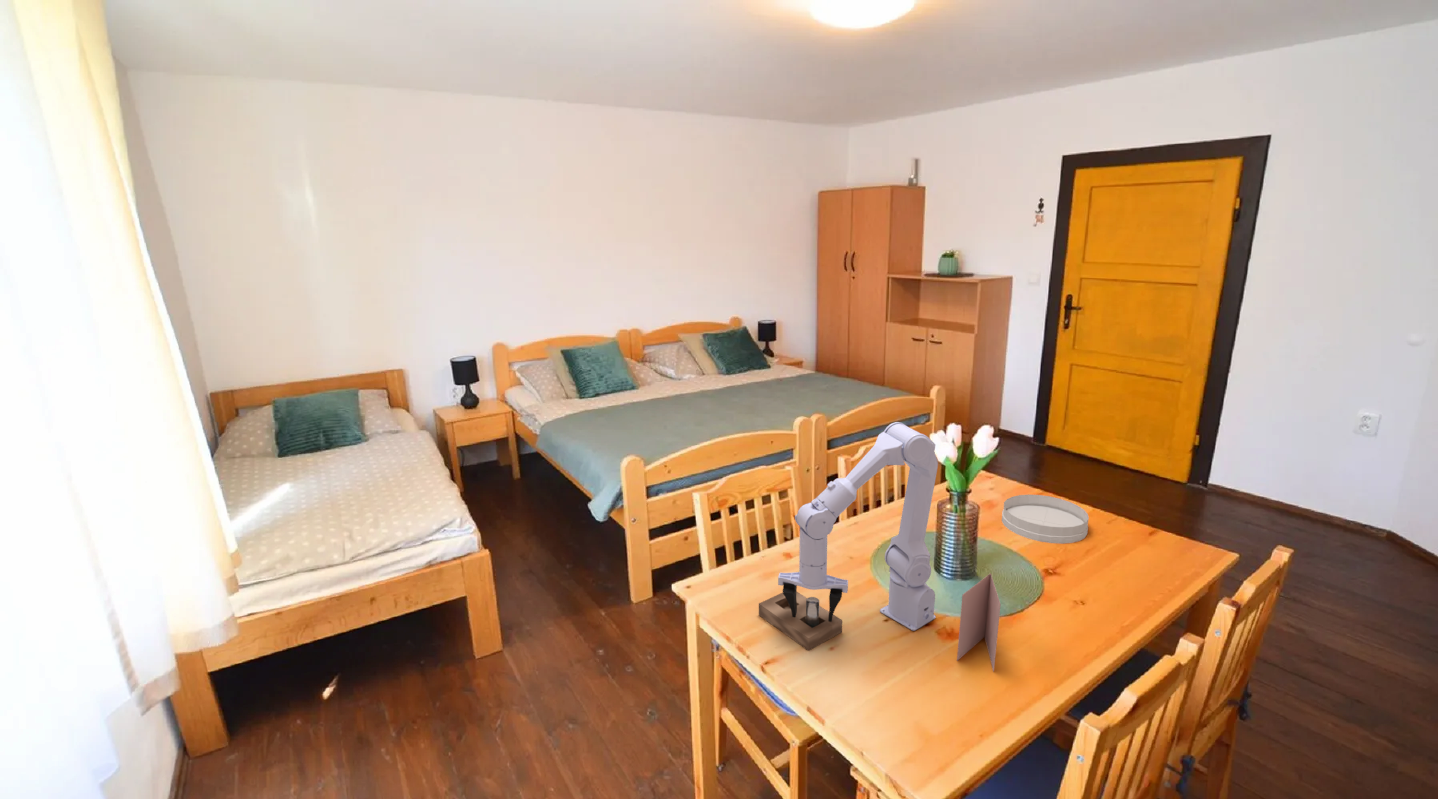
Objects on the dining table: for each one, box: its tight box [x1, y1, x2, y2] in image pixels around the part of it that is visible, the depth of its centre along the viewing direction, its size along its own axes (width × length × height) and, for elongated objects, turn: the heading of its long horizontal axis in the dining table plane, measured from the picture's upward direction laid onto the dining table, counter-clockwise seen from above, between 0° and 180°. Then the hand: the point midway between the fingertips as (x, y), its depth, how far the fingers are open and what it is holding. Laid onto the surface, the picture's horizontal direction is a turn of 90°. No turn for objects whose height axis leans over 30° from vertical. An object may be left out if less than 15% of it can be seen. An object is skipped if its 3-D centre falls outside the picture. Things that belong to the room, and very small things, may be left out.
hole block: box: [758, 591, 843, 651], centre depth 141 cm, size 16×10×3 cm, turn 36°
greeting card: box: [956, 573, 1001, 673], centre depth 128 cm, size 11×7×15 cm, turn 131°
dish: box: [1001, 494, 1089, 544], centre depth 183 cm, size 22×22×5 cm
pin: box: [806, 596, 820, 628], centre depth 138 cm, size 3×3×7 cm
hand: (812, 616), depth 138 cm, fingers open, 7 cm apart
